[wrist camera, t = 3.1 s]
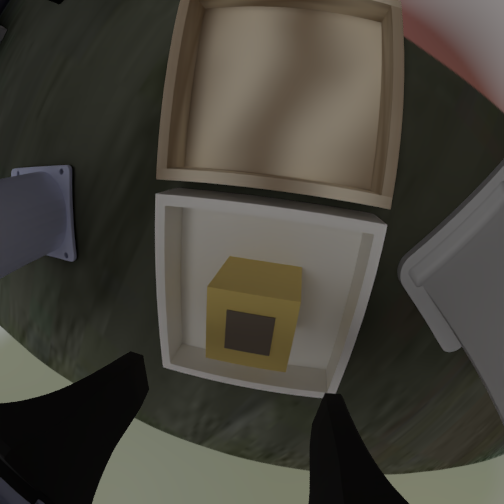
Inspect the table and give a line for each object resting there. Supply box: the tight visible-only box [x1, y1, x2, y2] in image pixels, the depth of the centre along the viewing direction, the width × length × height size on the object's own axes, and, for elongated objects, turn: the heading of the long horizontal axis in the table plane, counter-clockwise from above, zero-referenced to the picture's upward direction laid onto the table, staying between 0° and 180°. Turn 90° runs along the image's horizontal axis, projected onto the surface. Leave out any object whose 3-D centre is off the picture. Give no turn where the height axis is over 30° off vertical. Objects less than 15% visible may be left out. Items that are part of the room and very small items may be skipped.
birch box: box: [156, 0, 404, 209], centre depth 13 cm, size 12×12×3 cm
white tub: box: [155, 188, 387, 398], centre depth 17 cm, size 12×12×3 cm
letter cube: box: [206, 256, 302, 372], centre depth 16 cm, size 4×4×5 cm
